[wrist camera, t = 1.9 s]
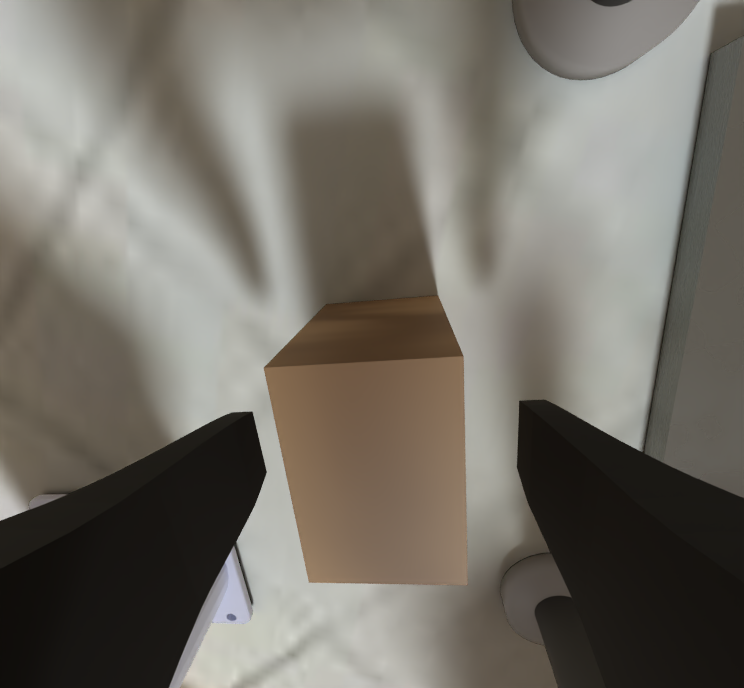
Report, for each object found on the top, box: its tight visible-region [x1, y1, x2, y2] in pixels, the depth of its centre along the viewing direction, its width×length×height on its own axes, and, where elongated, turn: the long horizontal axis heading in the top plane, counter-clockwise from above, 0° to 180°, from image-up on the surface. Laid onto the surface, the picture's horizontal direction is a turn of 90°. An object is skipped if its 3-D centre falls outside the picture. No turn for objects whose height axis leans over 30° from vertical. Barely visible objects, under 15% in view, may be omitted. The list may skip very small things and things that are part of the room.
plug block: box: [264, 296, 468, 585], centre depth 11 cm, size 4×6×6 cm, turn 6°
